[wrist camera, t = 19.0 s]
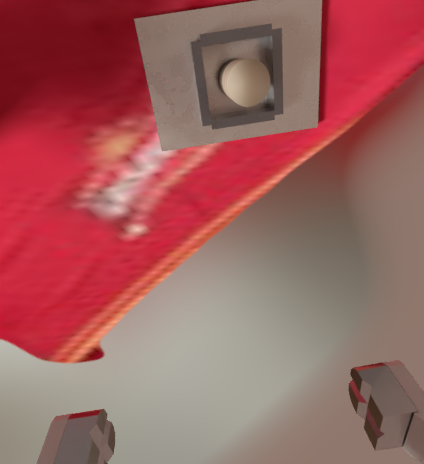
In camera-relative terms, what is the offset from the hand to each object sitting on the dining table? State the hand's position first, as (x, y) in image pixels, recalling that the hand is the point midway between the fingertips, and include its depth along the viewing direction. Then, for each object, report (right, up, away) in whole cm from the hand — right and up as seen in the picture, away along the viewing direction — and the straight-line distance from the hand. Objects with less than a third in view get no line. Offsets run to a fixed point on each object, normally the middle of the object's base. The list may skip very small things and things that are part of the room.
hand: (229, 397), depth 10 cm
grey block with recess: (+2, +24, +27) cm, 36 cm away
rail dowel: (+2, +23, +26) cm, 35 cm away
